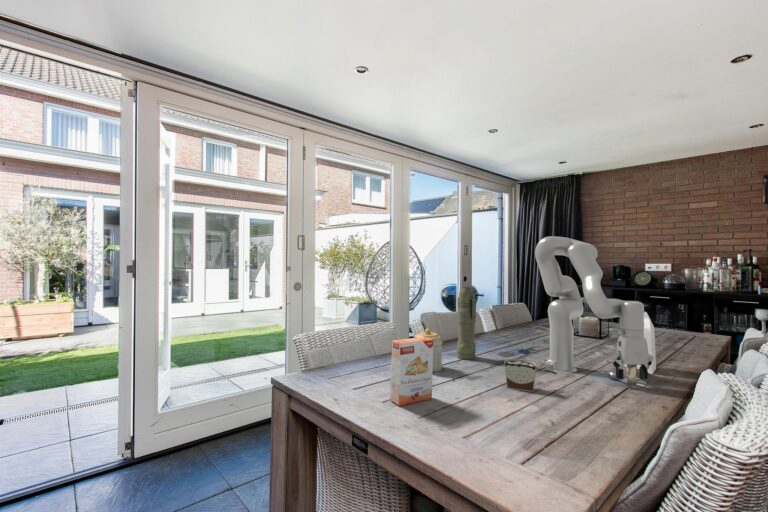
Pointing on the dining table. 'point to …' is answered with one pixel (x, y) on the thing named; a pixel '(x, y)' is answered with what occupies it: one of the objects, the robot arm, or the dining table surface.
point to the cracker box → (411, 370)
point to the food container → (520, 374)
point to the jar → (434, 348)
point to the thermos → (466, 324)
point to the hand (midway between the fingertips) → (631, 378)
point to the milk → (649, 342)
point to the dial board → (614, 380)
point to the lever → (631, 375)
